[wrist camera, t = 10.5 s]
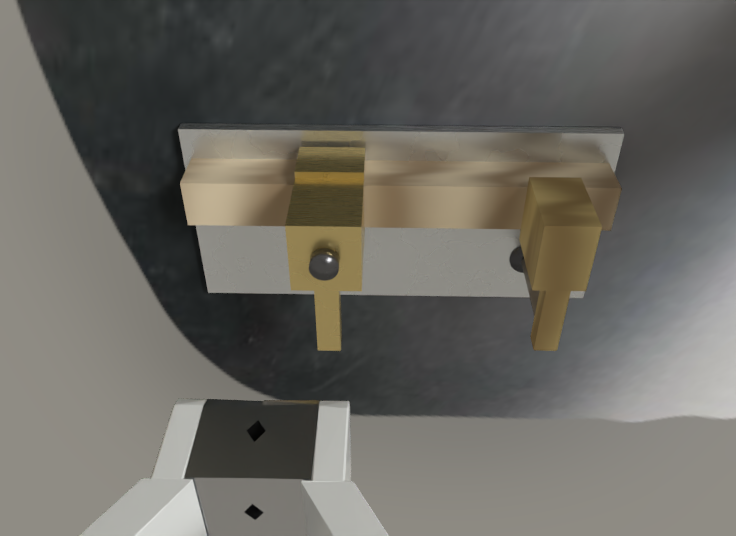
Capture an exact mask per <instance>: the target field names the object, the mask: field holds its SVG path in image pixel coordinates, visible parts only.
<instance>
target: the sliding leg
mask: <svg viewBox="0 0 736 536" xmlns="http://www.w3.org/2000/svg"><path fill="white" fill-rule="evenodd" d="M364 174H365V148H360V147H300V148H299V152H298V157H297V162H296V167H295V180H294V185H293V190H292V195H291V199H290V204H289V209H288V214H287V219H286V224H285V231H286V242H287V253H288V264H289V276H290V287H291V290H297V291H314V297H315V313H316V329H317V346H318V350H325V351H341V342H342V325H341V293H340V291H362V277H363V255H364V239H365V227H364Z"/></svg>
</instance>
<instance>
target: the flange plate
mask: <svg viewBox="0 0 736 536" xmlns="http://www.w3.org/2000/svg"><path fill="white" fill-rule="evenodd" d="M178 133H179V138H180V143H181V149H182V154H183V160H184V165H185V170H186V169H187V166H188V164H189V162H190V160H191V158H208V159H297V157H298V152H299V148H300V147H360V148H365V160H387V161H476V162H565V163H609V164H610V166H611V168H612V170H613V172H614V174H615V170H616V166H617V162H618V158H619V154H620V150H621V146H622V142H623V138H624V132H623V130H622V129H621V128H600V127H503V126H406V125H309V124H212V123H181V124H180V126H179V128H178ZM196 230H197V235H198V241H199V246H200V251H201V257H202V262H203V268H204V273H205V278H206V284H207V289H208V293H264V294H314V291H297V290H291V287H290V276H289V264H288V253H287V242H286V231H285V226H220V225H196ZM520 230H521V229H452V228H375V227H365V239H364V255H363V277H362V291H340V293H341V295H402V296H470V297H530V296H529V292H528V288H527V284H526V280H525V276H524V272H523V268H522V264H521V261H522V260H523V259H524V256H523V252H522V248H521V244H520V240H519V236H520ZM584 293H585V291H571V293H570V297H569V298H583V297H584Z"/></svg>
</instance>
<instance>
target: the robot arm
mask: <svg viewBox="0 0 736 536" xmlns="http://www.w3.org/2000/svg"><path fill="white" fill-rule="evenodd" d="M79 536H389V535H388V534H387V532H386V531H385V529H384V528H383V526H382V525H381V523H380V522H379V520H378V519H377V517H376V516H375V514H374V512H373V511H372V509H371V508H370V506H369V505H368V503H367V502H366V500H365V499H364V497H363V496H362V494H361V493H360V491H359V490H358V488H357V486H356V485H355V483H354V482H351V432H350V403H349V401H320V400H264V401H243V400H217V399H178V400H177V401H176V403H175V404H174V406H173V408H172V411H171V414H170V418H169V421H168V424H167V427H166V431H165V433H164V437H163V440H162V443H161V446H160V449H159V452H158V456H157V459H156V462H155V465H154V468H153V472H152V475H151V478H142V479H141V480H139V481H138V483H136V484H135V485H134V486H133V487H132V488H131V489H130V490H129V491H127V492H126V493H125V494H124V495H123V496H122V497H121V498H120V499H119V500H118V501H116V502H115V503H114V504H113V505H112V506H111V507H110V508H109V509H108V510H107V511H105V512H104V513H103V514H102V515H101V516H100V517H99V518H98V519H97V520H96V521H94V522H93V524H91V525H90V526H89V527H88V528H87V529H86V530H85V531H84V532H82V533H81V534H80V535H79Z"/></svg>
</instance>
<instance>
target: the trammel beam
mask: <svg viewBox="0 0 736 536" xmlns="http://www.w3.org/2000/svg"><path fill="white" fill-rule="evenodd" d="M296 162H297V159H208V158H191V160H190V162H189V164H188V166H187V169H186V171H185V173H184V175H183V178H182V180H181V182H180V186H181V192H182V197H183V202H184V207H185V212H186V217H187V223H188V225H220V226H285V224H286V219H287V214H288V209H289V204H290V199H291V195H292V190H293V185H294V180H295V167H296ZM621 190H622V188H621V186H620V184H619V182H618V180H617V178H616V176H615V174H614V172H613V170H612V168H611V166H610V164H609V163H565V162H476V161H387V160H365V174H364V227H375V228H452V229H521V230H520V236H519V240H520V244H521V248H522V252H523V256H524V259H523V260H522V261H521V264H522V268H523V272H524V276H525V280H526V284H527V288H528V292H529V296H530V300H531V304H532V308H533V312H534V316H535V317H534V322H533V327H532V332H531V341H532V345H533V349H534V350H545V351H557V348H558V344H559V340H560V335H561V331H562V327H563V323H564V318H565V314H566V310H567V306H568V301H569V297H570V293H571V291H586V289H587V285H588V281H589V277H590V273H591V269H592V265H593V261H594V257H595V253H596V249H597V245H598V241H599V237H600V233H601V230H607V231H611V228H612V224H613V220H614V217H615V213H616V209H617V205H618V201H619V197H620V194H621Z"/></svg>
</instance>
